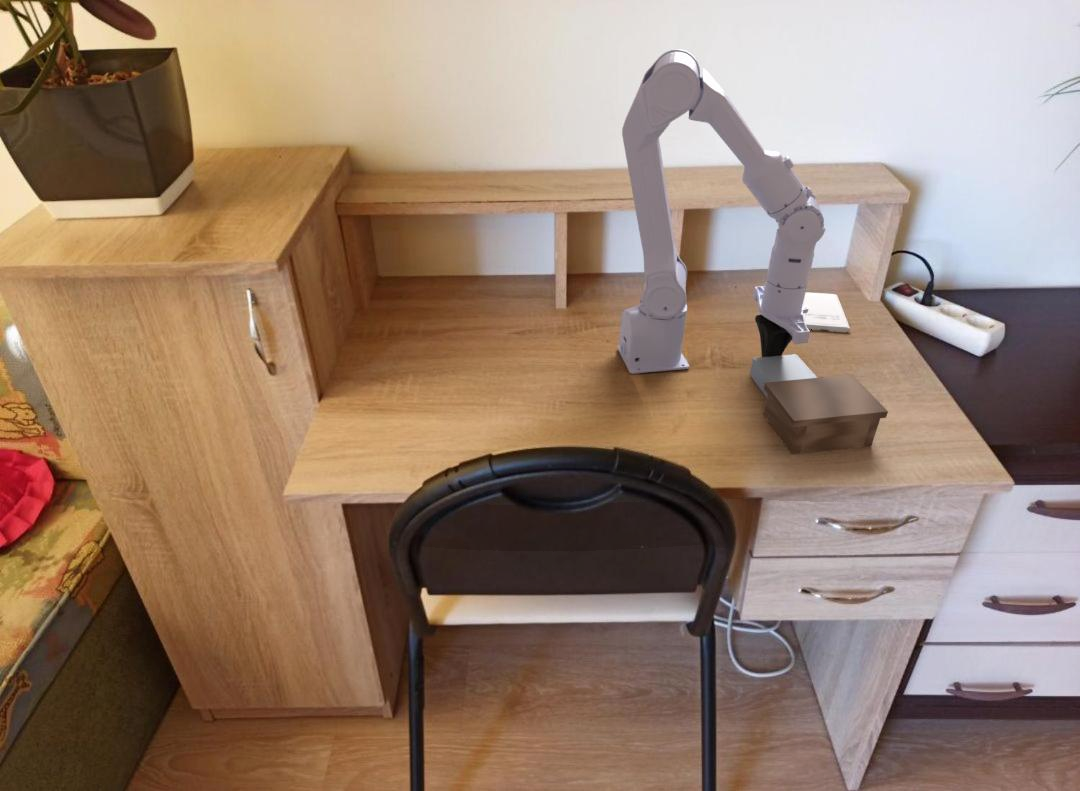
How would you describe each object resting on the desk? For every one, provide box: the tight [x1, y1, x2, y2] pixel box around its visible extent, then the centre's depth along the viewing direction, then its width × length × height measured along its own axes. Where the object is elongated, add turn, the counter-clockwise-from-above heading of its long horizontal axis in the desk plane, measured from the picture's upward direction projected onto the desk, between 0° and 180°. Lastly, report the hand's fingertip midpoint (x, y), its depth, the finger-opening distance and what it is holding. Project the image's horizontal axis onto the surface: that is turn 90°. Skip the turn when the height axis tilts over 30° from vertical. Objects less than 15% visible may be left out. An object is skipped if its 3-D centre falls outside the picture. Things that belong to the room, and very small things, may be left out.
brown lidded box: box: [763, 374, 889, 455], centre depth 102 cm, size 13×9×6 cm
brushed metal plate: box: [749, 353, 818, 398], centre depth 109 cm, size 7×14×3 cm, turn 10°
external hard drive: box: [803, 291, 851, 333], centre depth 132 cm, size 2×8×12 cm
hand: (769, 361), depth 116 cm, fingers closed
